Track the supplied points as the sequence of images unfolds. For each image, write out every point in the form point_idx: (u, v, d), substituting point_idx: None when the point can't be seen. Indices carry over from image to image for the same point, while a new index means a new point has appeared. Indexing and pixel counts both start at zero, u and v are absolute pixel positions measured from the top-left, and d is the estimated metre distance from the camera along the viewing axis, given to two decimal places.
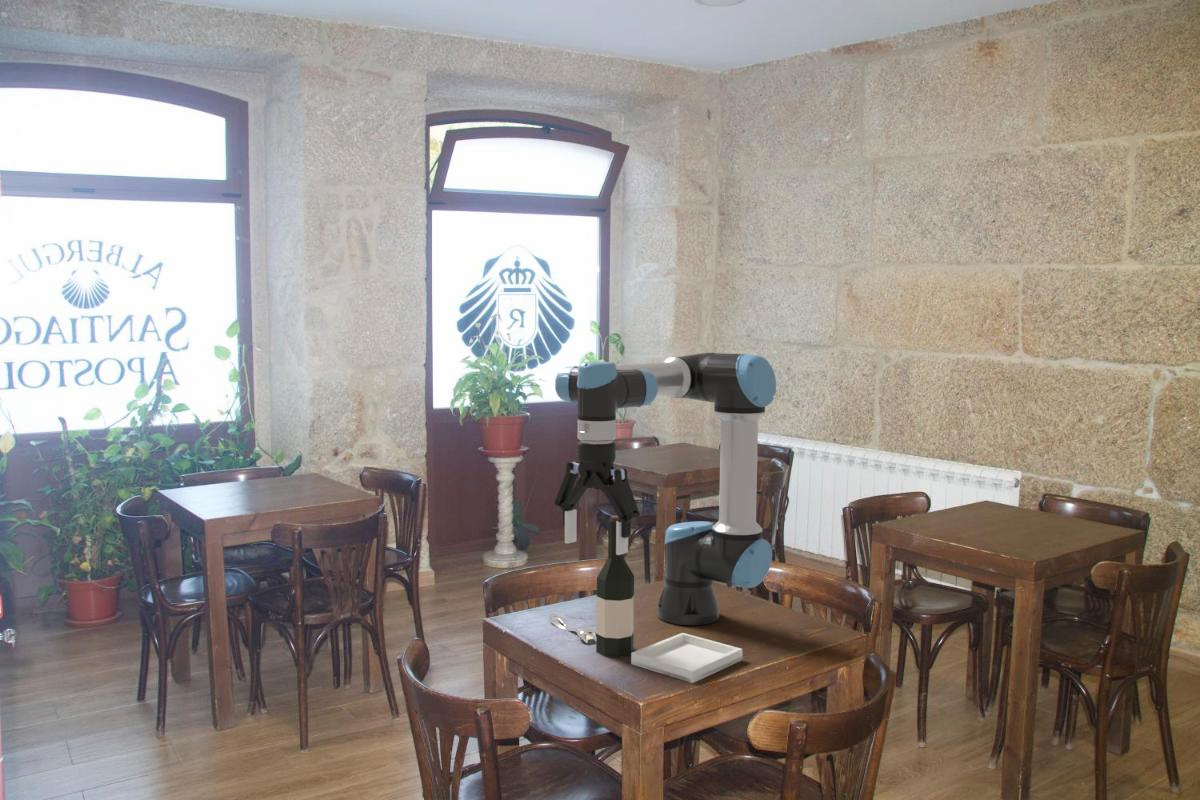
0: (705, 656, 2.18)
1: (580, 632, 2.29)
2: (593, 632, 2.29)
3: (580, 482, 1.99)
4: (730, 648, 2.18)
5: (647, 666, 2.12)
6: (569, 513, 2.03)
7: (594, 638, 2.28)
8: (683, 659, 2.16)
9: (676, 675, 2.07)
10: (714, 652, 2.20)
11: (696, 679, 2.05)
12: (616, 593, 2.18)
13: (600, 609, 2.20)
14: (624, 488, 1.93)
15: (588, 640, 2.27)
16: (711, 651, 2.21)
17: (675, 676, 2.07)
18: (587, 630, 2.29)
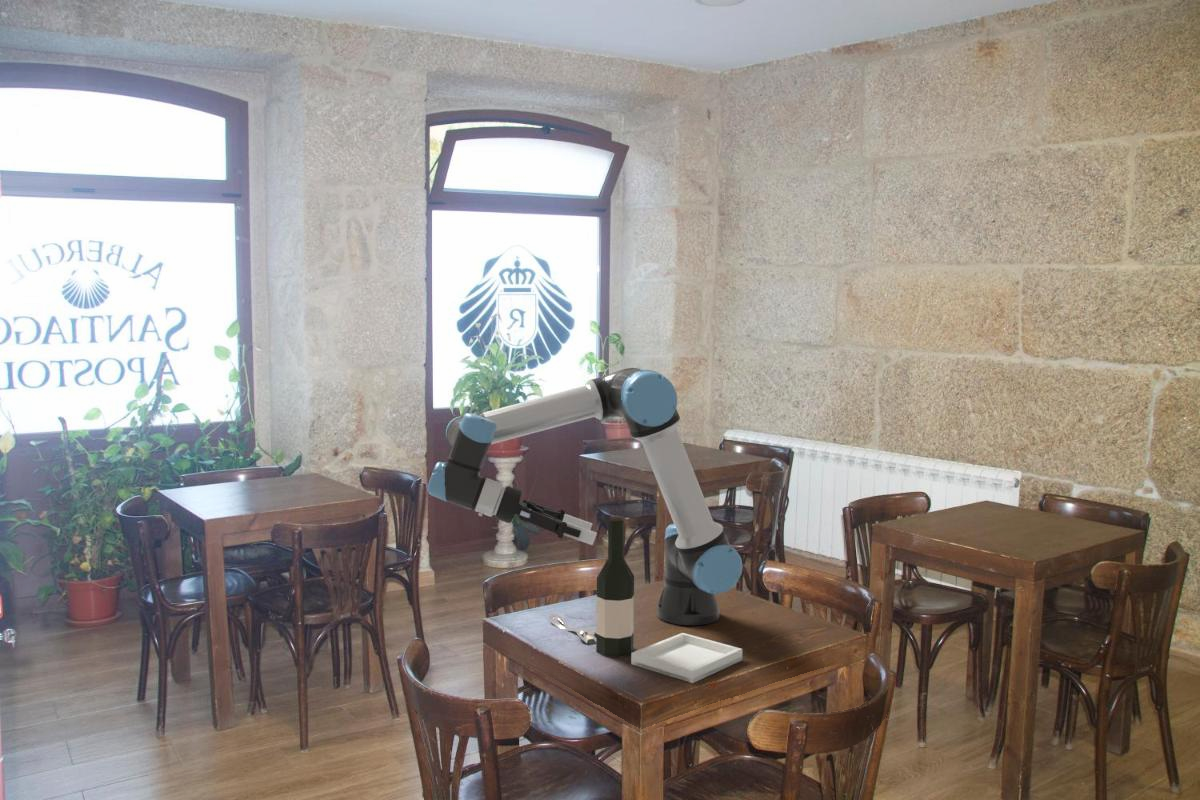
0: (705, 656, 2.18)
1: (580, 632, 2.29)
2: (593, 632, 2.29)
3: None
4: (730, 648, 2.18)
5: (647, 666, 2.12)
6: None
7: (594, 638, 2.28)
8: (683, 659, 2.16)
9: (676, 675, 2.07)
10: (714, 652, 2.20)
11: (696, 679, 2.05)
12: (616, 593, 2.18)
13: (600, 609, 2.20)
14: (535, 521, 2.10)
15: (587, 640, 2.27)
16: (711, 651, 2.21)
17: (675, 676, 2.07)
18: (587, 630, 2.29)
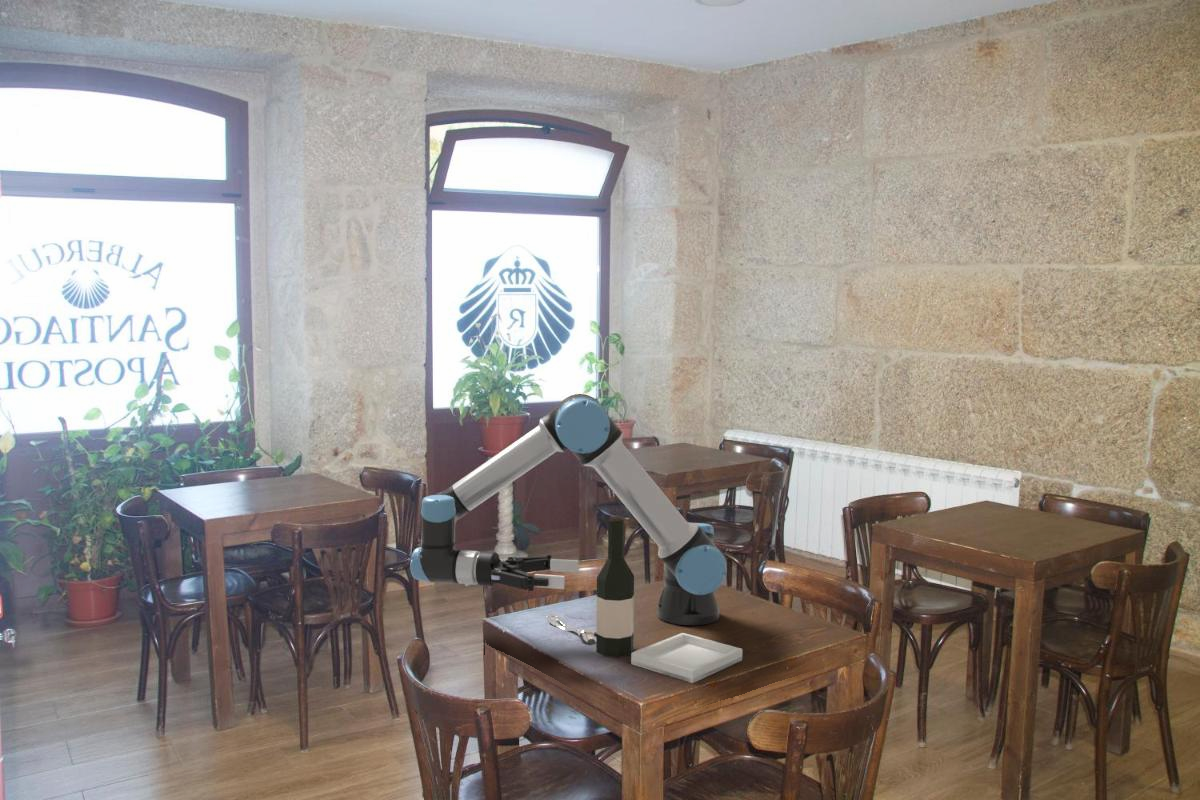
0: (705, 656, 2.18)
1: (581, 632, 2.29)
2: (594, 632, 2.30)
3: None
4: (730, 648, 2.18)
5: (647, 666, 2.12)
6: (551, 568, 2.31)
7: (595, 638, 2.29)
8: (683, 659, 2.16)
9: (676, 675, 2.07)
10: (714, 652, 2.20)
11: (696, 679, 2.05)
12: (616, 593, 2.18)
13: (600, 609, 2.20)
14: (505, 581, 2.19)
15: (589, 640, 2.28)
16: (711, 651, 2.21)
17: (675, 676, 2.07)
18: (588, 630, 2.29)
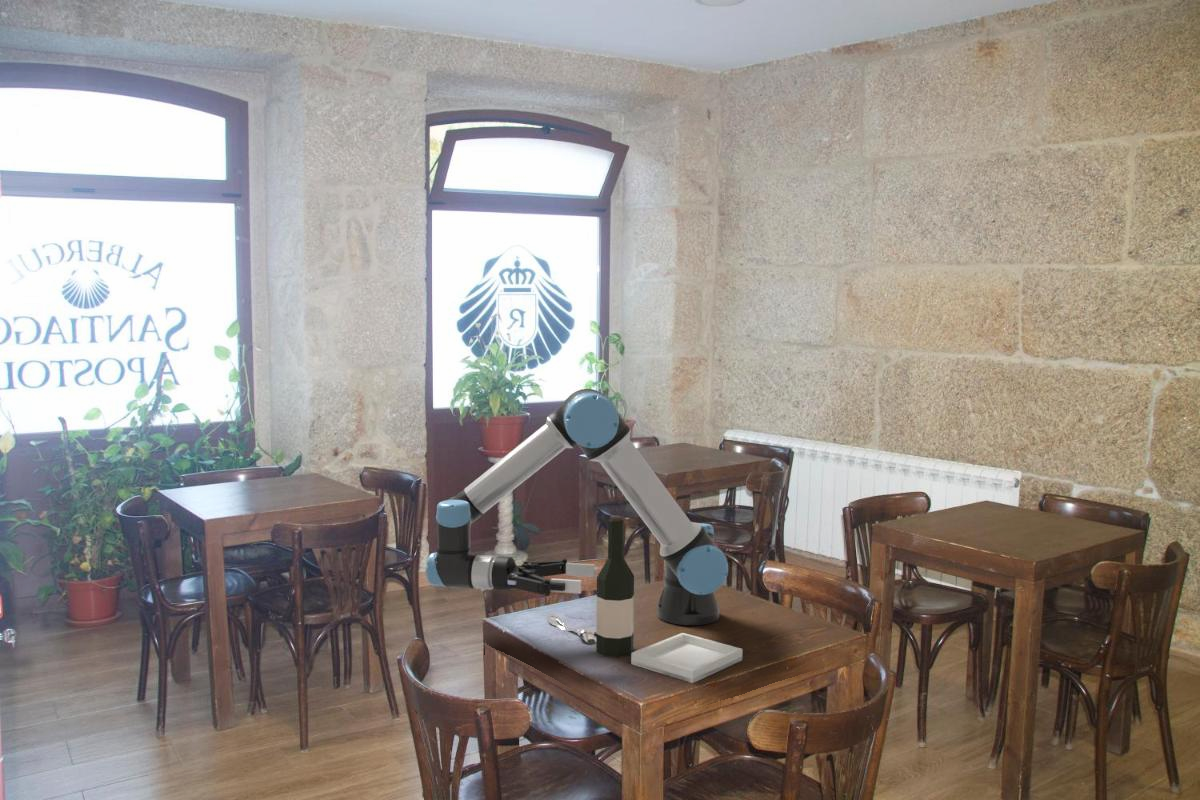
0: (705, 656, 2.18)
1: (581, 632, 2.29)
2: (594, 632, 2.30)
3: None
4: (730, 648, 2.18)
5: (647, 666, 2.12)
6: (567, 572, 2.30)
7: (595, 638, 2.29)
8: (683, 659, 2.16)
9: (676, 675, 2.07)
10: (714, 652, 2.20)
11: (696, 679, 2.05)
12: (616, 593, 2.18)
13: (600, 609, 2.20)
14: (521, 586, 2.18)
15: (589, 640, 2.28)
16: (711, 651, 2.21)
17: (675, 676, 2.07)
18: (588, 630, 2.29)
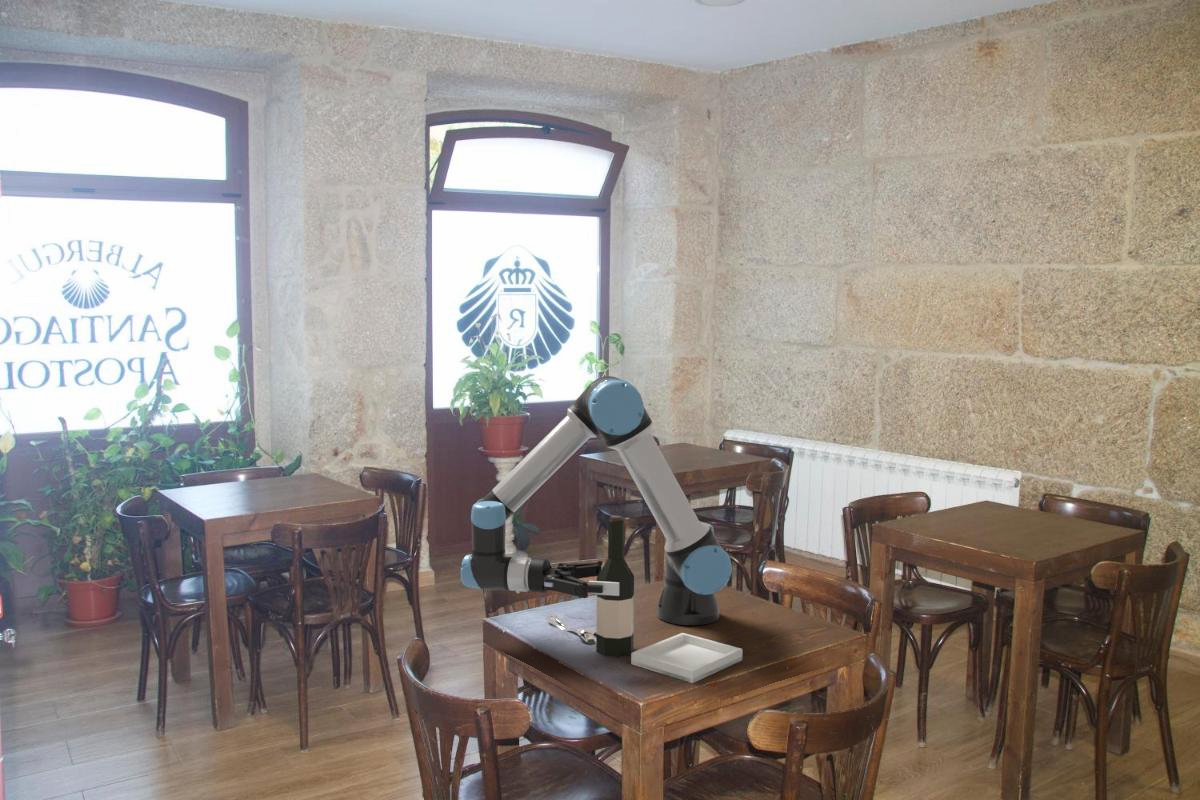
0: (705, 656, 2.18)
1: (581, 632, 2.29)
2: (593, 632, 2.30)
3: None
4: (730, 648, 2.18)
5: (647, 666, 2.12)
6: None
7: (595, 638, 2.29)
8: (683, 659, 2.16)
9: (676, 675, 2.07)
10: (714, 652, 2.20)
11: (696, 679, 2.05)
12: None
13: (600, 609, 2.20)
14: (558, 588, 2.16)
15: (589, 640, 2.28)
16: (711, 651, 2.21)
17: (675, 676, 2.07)
18: (587, 630, 2.30)
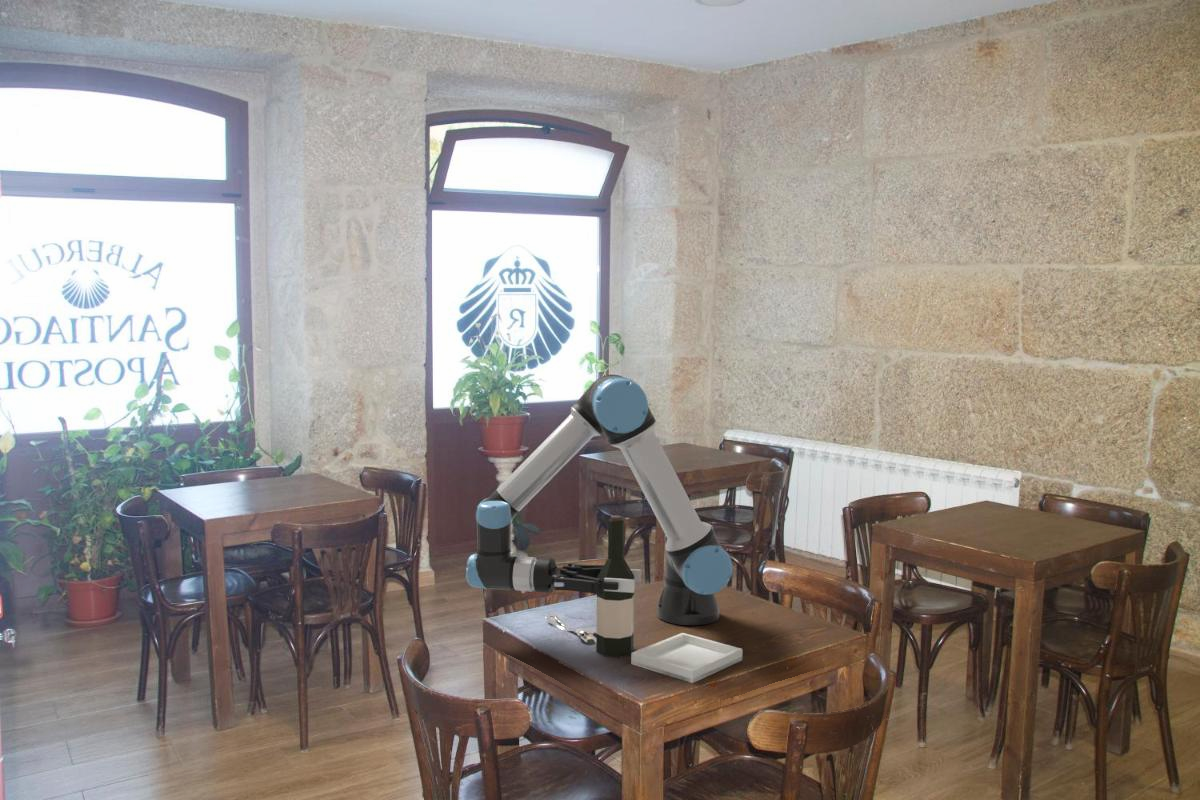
0: (705, 656, 2.18)
1: (580, 632, 2.29)
2: (593, 632, 2.30)
3: None
4: (730, 648, 2.18)
5: (647, 666, 2.12)
6: None
7: (594, 638, 2.29)
8: (683, 659, 2.16)
9: (676, 675, 2.07)
10: (714, 652, 2.20)
11: (696, 679, 2.05)
12: (616, 593, 2.18)
13: (600, 609, 2.20)
14: (571, 587, 2.17)
15: (588, 640, 2.28)
16: (711, 651, 2.21)
17: (675, 676, 2.07)
18: (587, 630, 2.29)
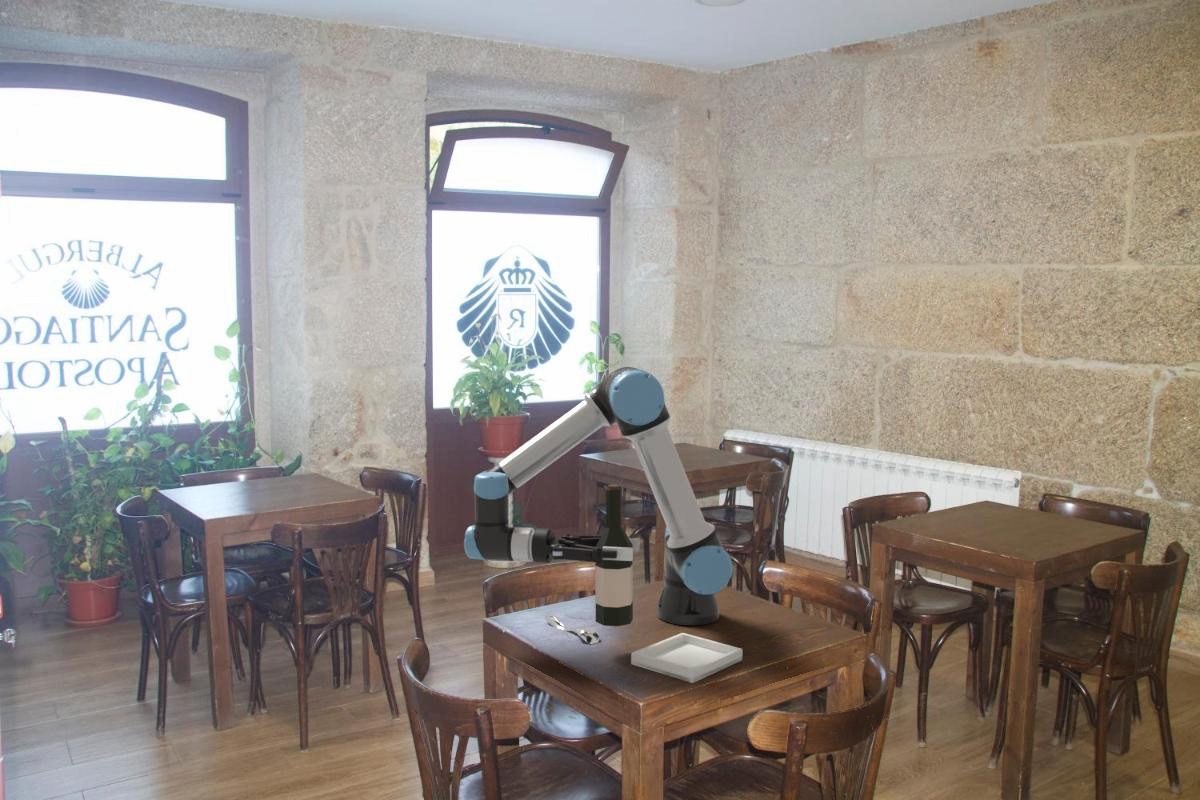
0: (705, 656, 2.18)
1: (580, 632, 2.29)
2: (593, 631, 2.30)
3: None
4: (730, 648, 2.18)
5: (647, 666, 2.12)
6: None
7: (595, 637, 2.29)
8: (683, 659, 2.16)
9: (676, 675, 2.07)
10: (714, 652, 2.20)
11: (696, 679, 2.05)
12: (615, 562, 2.17)
13: (598, 578, 2.19)
14: (569, 556, 2.16)
15: (588, 640, 2.28)
16: (711, 651, 2.21)
17: (675, 676, 2.07)
18: (587, 630, 2.30)
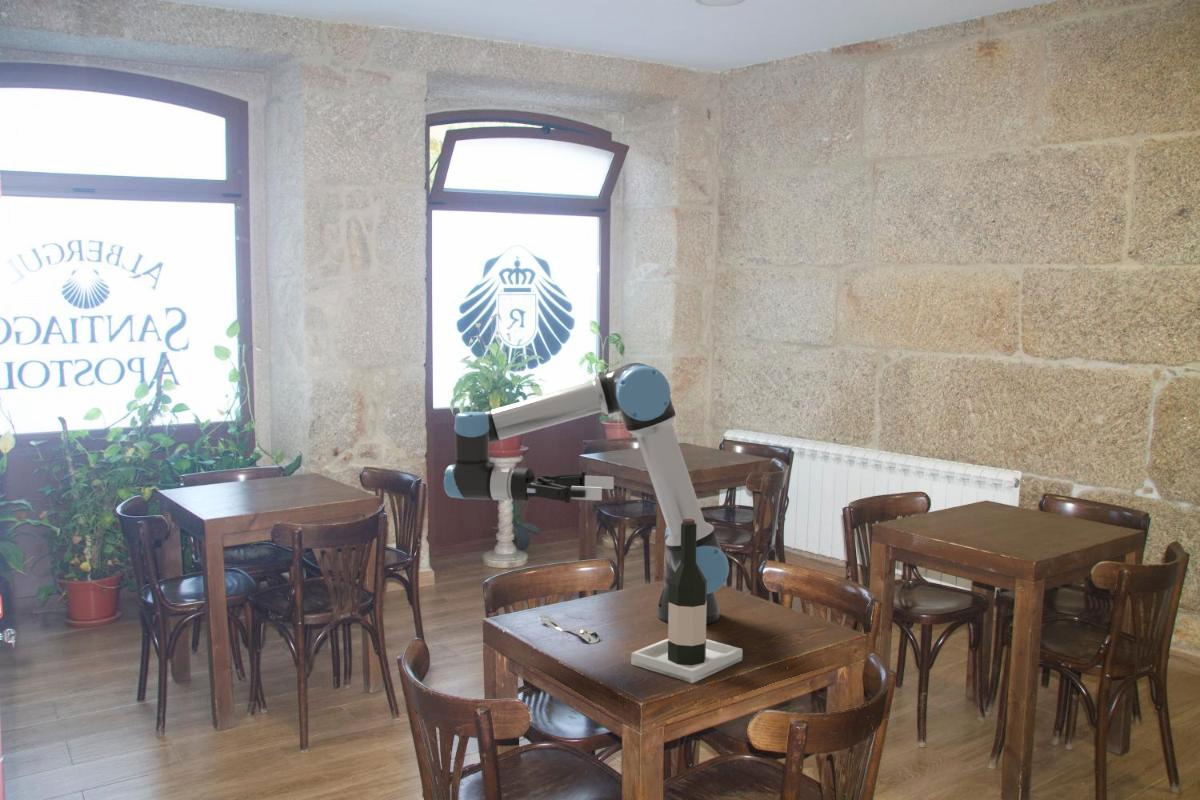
0: None
1: (580, 632, 2.29)
2: (593, 631, 2.30)
3: None
4: (730, 648, 2.18)
5: (647, 666, 2.12)
6: (586, 485, 2.28)
7: (595, 637, 2.29)
8: None
9: (676, 675, 2.07)
10: (714, 652, 2.20)
11: (696, 679, 2.05)
12: (690, 599, 2.11)
13: (672, 615, 2.13)
14: (541, 493, 2.16)
15: (589, 639, 2.28)
16: (711, 651, 2.21)
17: (675, 676, 2.07)
18: (587, 629, 2.30)
